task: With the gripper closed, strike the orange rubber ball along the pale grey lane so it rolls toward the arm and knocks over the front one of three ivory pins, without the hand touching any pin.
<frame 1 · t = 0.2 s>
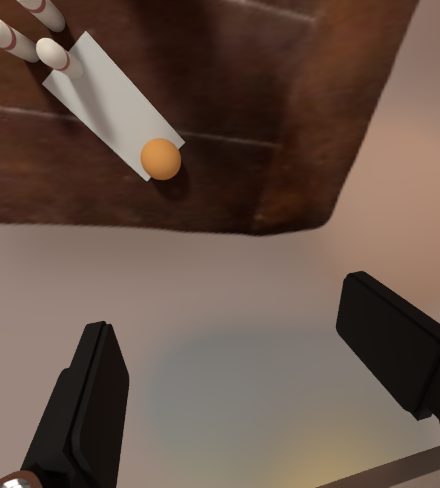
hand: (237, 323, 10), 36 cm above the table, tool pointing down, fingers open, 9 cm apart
ball: (161, 159, 38), on the table
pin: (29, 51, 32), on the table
lane mark: (120, 115, 37), on the table
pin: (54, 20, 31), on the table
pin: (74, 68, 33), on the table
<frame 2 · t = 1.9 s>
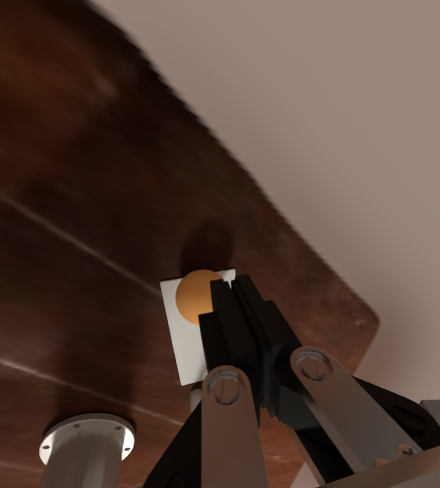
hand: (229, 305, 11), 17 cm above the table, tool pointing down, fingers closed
ball: (202, 296, 27), on the table
lane mark: (205, 331, 33), on the table
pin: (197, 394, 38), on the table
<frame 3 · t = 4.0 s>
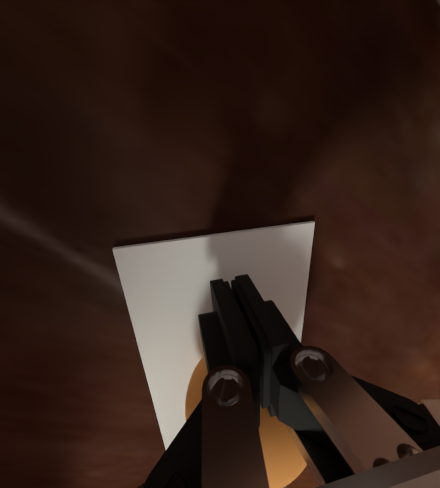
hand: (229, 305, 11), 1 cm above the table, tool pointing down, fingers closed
ball: (249, 403, 12), on the table
lane mark: (227, 371, 15), on the table
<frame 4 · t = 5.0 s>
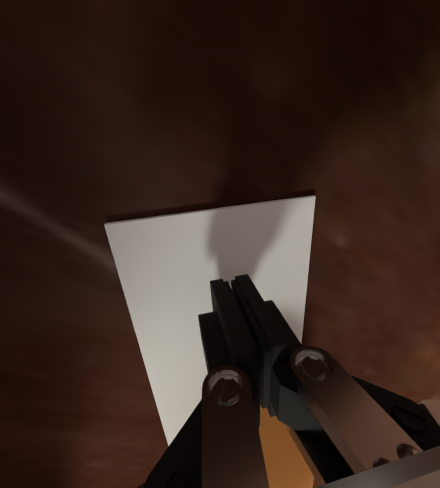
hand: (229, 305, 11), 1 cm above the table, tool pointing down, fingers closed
ball: (255, 452, 14), on the table
lane mark: (228, 357, 14), on the table
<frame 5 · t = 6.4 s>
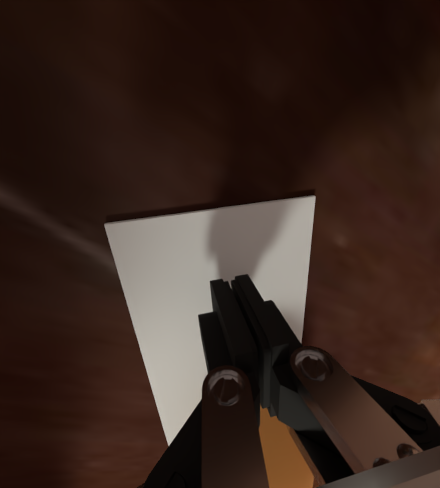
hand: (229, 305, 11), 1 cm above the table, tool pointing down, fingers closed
ball: (255, 452, 14), on the table
lane mark: (228, 357, 14), on the table
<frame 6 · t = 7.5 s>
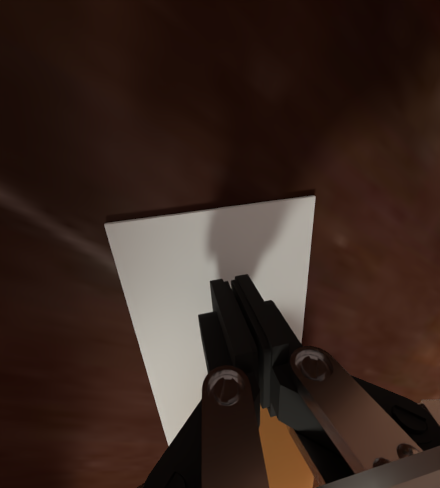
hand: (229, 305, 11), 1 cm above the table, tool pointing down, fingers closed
ball: (255, 452, 14), on the table
lane mark: (228, 357, 14), on the table
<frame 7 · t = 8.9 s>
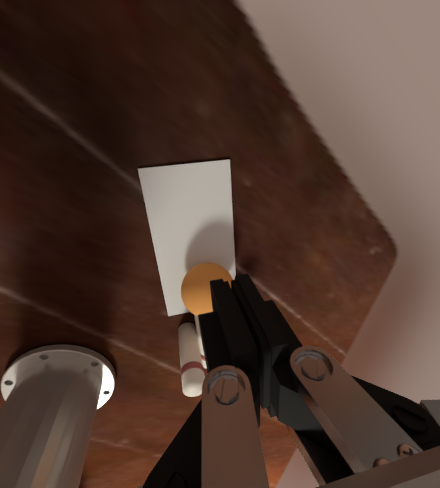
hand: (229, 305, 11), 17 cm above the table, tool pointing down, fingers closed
ball: (208, 290, 27), on the table
lane mark: (195, 245, 28), on the table
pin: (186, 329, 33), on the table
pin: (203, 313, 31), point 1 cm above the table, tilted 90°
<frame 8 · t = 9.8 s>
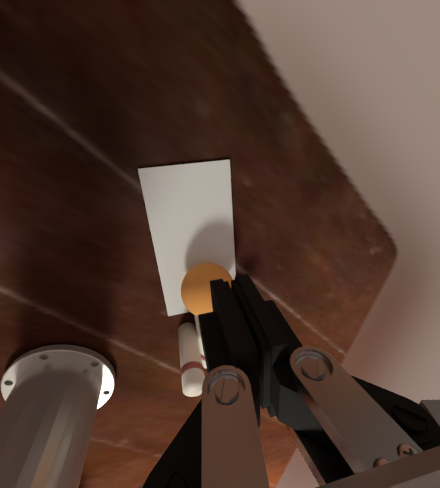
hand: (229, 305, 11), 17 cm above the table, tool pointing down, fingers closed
ball: (208, 290, 27), on the table
lane mark: (195, 245, 28), on the table
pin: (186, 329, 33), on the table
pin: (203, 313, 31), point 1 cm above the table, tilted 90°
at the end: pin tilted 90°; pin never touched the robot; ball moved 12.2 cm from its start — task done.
